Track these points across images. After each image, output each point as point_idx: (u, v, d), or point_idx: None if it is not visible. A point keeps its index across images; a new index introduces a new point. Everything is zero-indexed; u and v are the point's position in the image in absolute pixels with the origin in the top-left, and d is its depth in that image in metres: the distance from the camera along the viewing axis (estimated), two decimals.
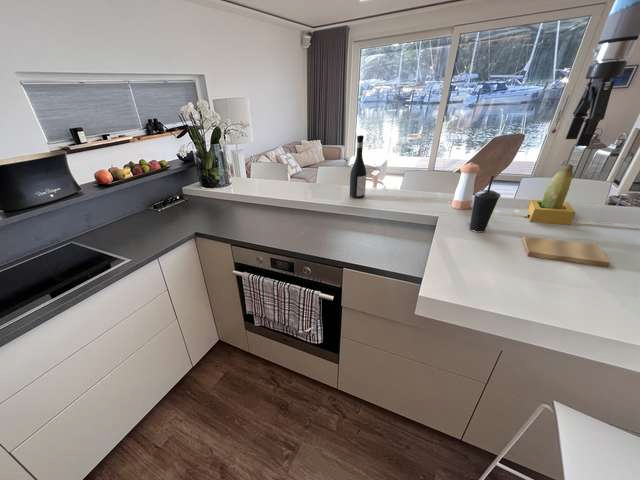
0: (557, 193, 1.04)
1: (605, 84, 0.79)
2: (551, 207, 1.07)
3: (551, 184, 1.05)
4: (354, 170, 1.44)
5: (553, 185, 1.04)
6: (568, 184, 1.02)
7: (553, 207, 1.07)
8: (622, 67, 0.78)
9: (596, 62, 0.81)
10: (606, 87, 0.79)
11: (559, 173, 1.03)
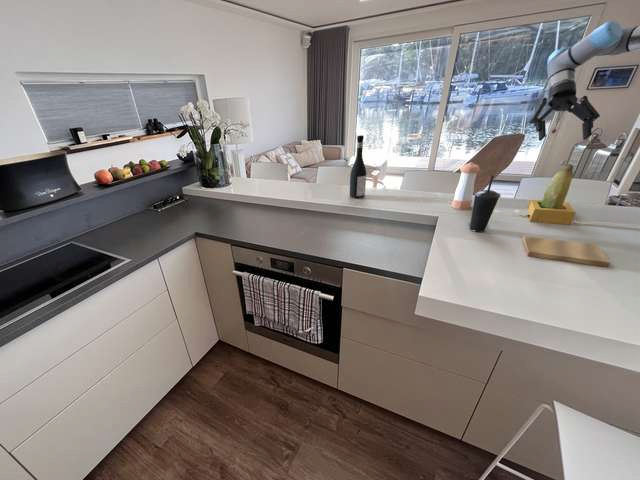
0: (557, 193, 1.04)
1: (540, 102, 1.10)
2: (551, 207, 1.07)
3: (551, 184, 1.05)
4: (354, 170, 1.44)
5: (553, 185, 1.04)
6: (568, 184, 1.02)
7: (553, 207, 1.07)
8: (558, 87, 1.06)
9: None
10: (540, 103, 1.09)
11: (559, 173, 1.03)
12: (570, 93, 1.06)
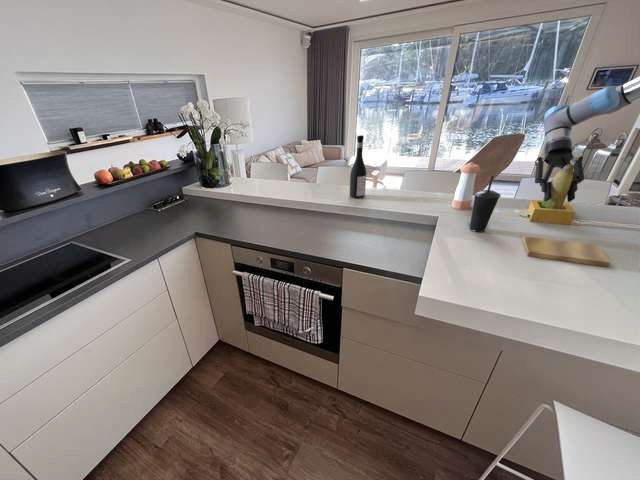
0: (558, 193, 1.04)
1: (536, 161, 1.10)
2: (551, 207, 1.07)
3: (551, 184, 1.05)
4: (354, 170, 1.44)
5: (553, 184, 1.04)
6: (568, 184, 1.02)
7: (553, 207, 1.07)
8: (552, 144, 1.07)
9: None
10: (537, 162, 1.09)
11: (560, 173, 1.03)
12: (566, 151, 1.06)
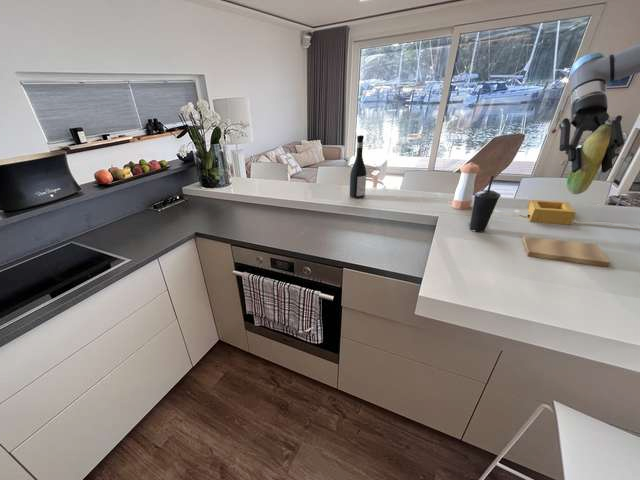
0: (589, 162, 0.83)
1: (561, 124, 0.89)
2: (580, 180, 0.86)
3: (581, 151, 0.84)
4: (354, 170, 1.44)
5: (584, 151, 0.83)
6: (604, 149, 0.81)
7: (583, 180, 0.85)
8: (582, 102, 0.86)
9: None
10: (562, 125, 0.88)
11: (592, 136, 0.81)
12: (599, 109, 0.85)
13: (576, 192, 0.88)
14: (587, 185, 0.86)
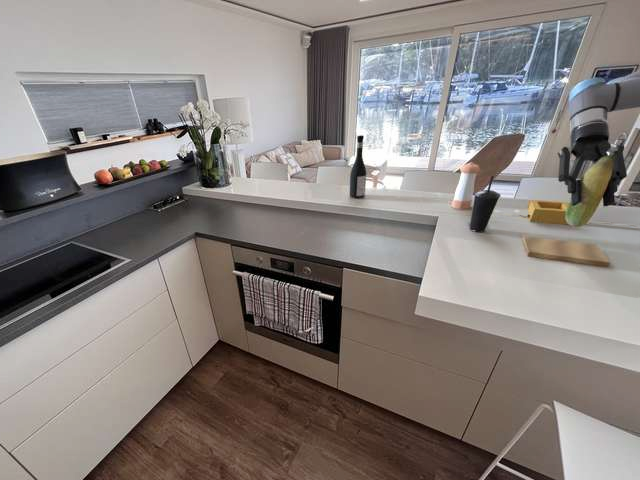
0: (590, 195, 0.78)
1: (560, 152, 0.84)
2: (581, 213, 0.81)
3: (582, 183, 0.79)
4: (354, 170, 1.44)
5: (585, 183, 0.78)
6: (606, 183, 0.76)
7: (583, 213, 0.80)
8: (583, 130, 0.81)
9: None
10: (561, 154, 0.83)
11: (594, 168, 0.76)
12: (600, 138, 0.80)
13: (576, 225, 0.83)
14: (588, 218, 0.81)
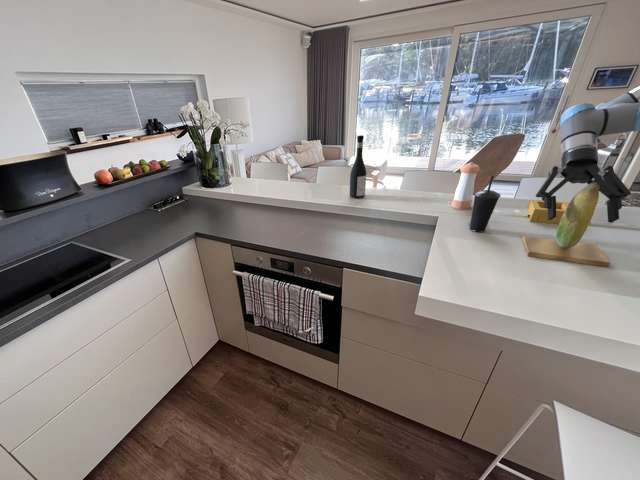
0: (578, 219, 0.81)
1: (551, 171, 0.87)
2: (570, 236, 0.84)
3: (570, 207, 0.82)
4: (354, 170, 1.44)
5: (573, 208, 0.82)
6: (593, 208, 0.79)
7: (572, 236, 0.84)
8: (573, 154, 0.84)
9: None
10: (550, 172, 0.87)
11: (581, 194, 0.80)
12: (590, 162, 0.83)
13: (566, 246, 0.87)
14: (577, 241, 0.84)
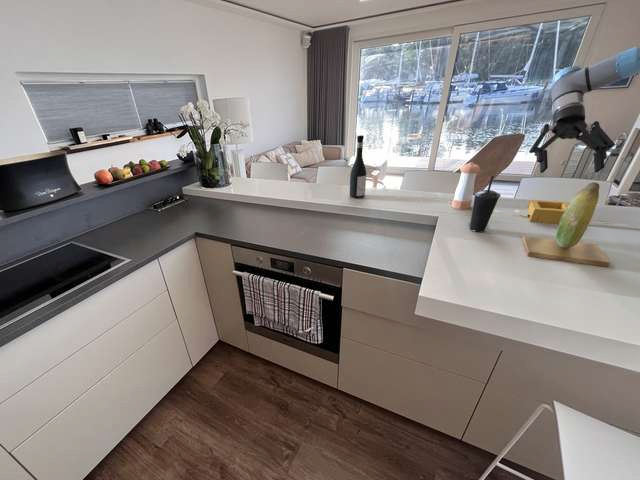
0: (578, 219, 0.81)
1: (542, 129, 0.95)
2: (570, 236, 0.84)
3: (570, 207, 0.82)
4: (354, 170, 1.44)
5: (573, 208, 0.82)
6: (593, 208, 0.79)
7: (572, 236, 0.84)
8: (562, 112, 0.92)
9: None
10: (542, 130, 0.95)
11: (581, 194, 0.80)
12: (578, 119, 0.91)
13: (566, 246, 0.87)
14: (577, 241, 0.84)
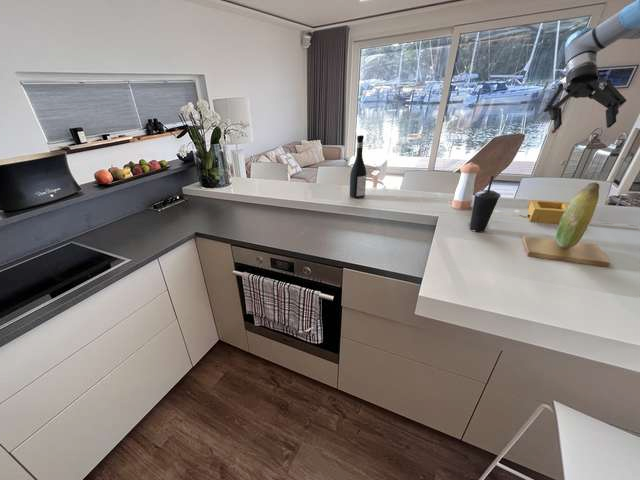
0: (578, 219, 0.81)
1: (556, 89, 0.99)
2: (570, 236, 0.84)
3: (570, 207, 0.82)
4: (354, 170, 1.44)
5: (573, 208, 0.82)
6: (593, 208, 0.79)
7: (572, 236, 0.84)
8: (576, 71, 0.96)
9: None
10: (556, 89, 0.99)
11: (581, 194, 0.80)
12: (591, 78, 0.95)
13: (566, 246, 0.87)
14: (577, 241, 0.84)
